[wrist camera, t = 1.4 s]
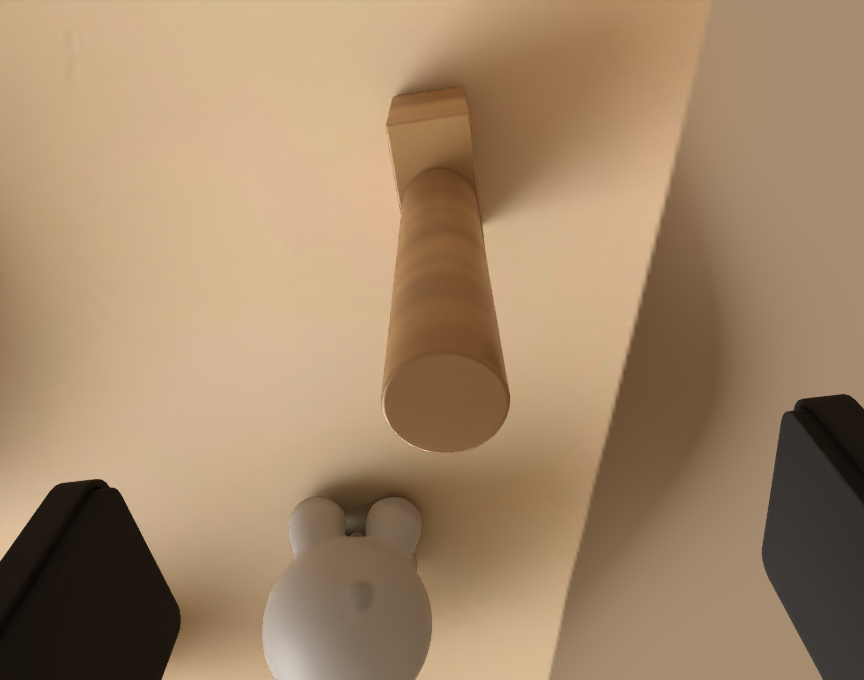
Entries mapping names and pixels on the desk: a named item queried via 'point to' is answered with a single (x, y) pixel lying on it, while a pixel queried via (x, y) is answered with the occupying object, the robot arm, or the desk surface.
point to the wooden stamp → (440, 284)
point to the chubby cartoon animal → (349, 597)
